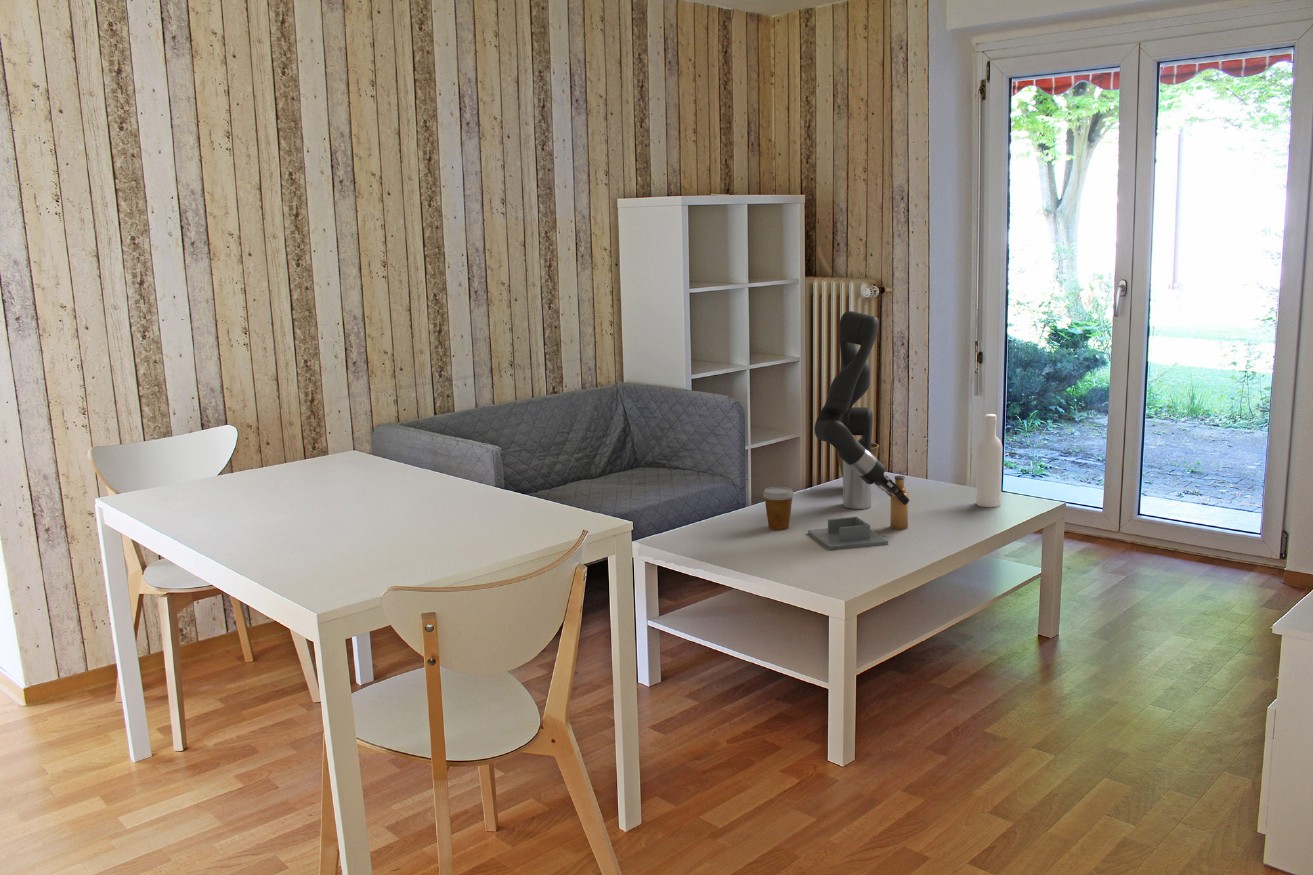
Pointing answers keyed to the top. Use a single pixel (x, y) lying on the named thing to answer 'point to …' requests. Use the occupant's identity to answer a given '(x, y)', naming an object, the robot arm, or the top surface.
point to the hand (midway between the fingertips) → (901, 499)
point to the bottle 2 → (989, 466)
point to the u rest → (847, 534)
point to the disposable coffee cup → (778, 507)
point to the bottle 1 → (899, 508)
